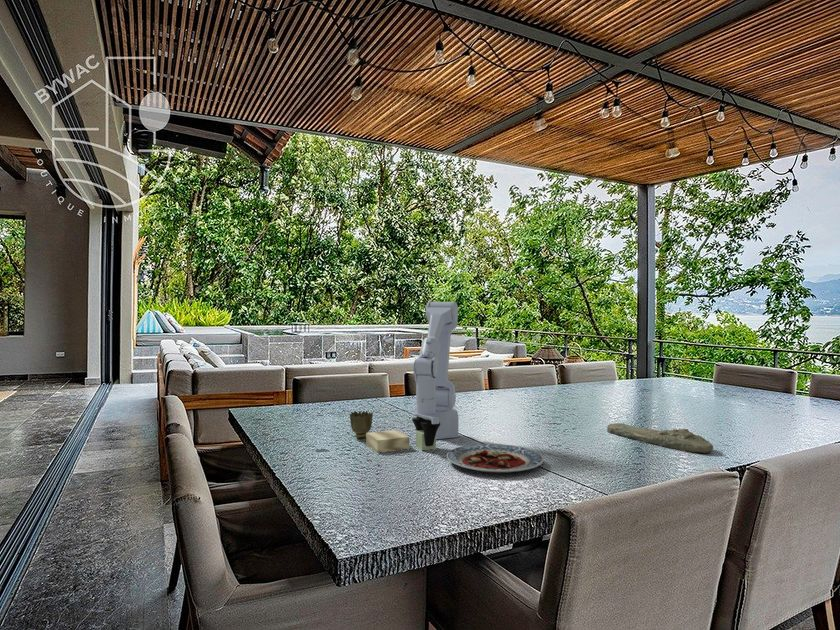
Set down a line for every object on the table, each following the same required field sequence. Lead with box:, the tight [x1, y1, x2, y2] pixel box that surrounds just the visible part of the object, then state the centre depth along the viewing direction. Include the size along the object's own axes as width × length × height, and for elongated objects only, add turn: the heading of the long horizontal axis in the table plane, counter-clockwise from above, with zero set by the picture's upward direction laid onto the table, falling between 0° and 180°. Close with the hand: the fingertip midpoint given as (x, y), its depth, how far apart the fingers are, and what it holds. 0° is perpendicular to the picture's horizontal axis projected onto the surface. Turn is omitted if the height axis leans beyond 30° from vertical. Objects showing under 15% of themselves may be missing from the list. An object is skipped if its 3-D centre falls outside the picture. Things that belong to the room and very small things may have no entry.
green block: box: [415, 430, 437, 451], centre depth 157 cm, size 4×4×5 cm
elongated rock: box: [606, 422, 714, 454], centre depth 166 cm, size 35×5×10 cm
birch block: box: [365, 429, 410, 454], centre depth 159 cm, size 10×10×4 cm
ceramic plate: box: [446, 443, 545, 474], centre depth 142 cm, size 26×26×3 cm
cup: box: [349, 410, 374, 440], centre depth 170 cm, size 8×7×8 cm
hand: (425, 443), depth 157 cm, fingers closed on green block, 4 cm apart
